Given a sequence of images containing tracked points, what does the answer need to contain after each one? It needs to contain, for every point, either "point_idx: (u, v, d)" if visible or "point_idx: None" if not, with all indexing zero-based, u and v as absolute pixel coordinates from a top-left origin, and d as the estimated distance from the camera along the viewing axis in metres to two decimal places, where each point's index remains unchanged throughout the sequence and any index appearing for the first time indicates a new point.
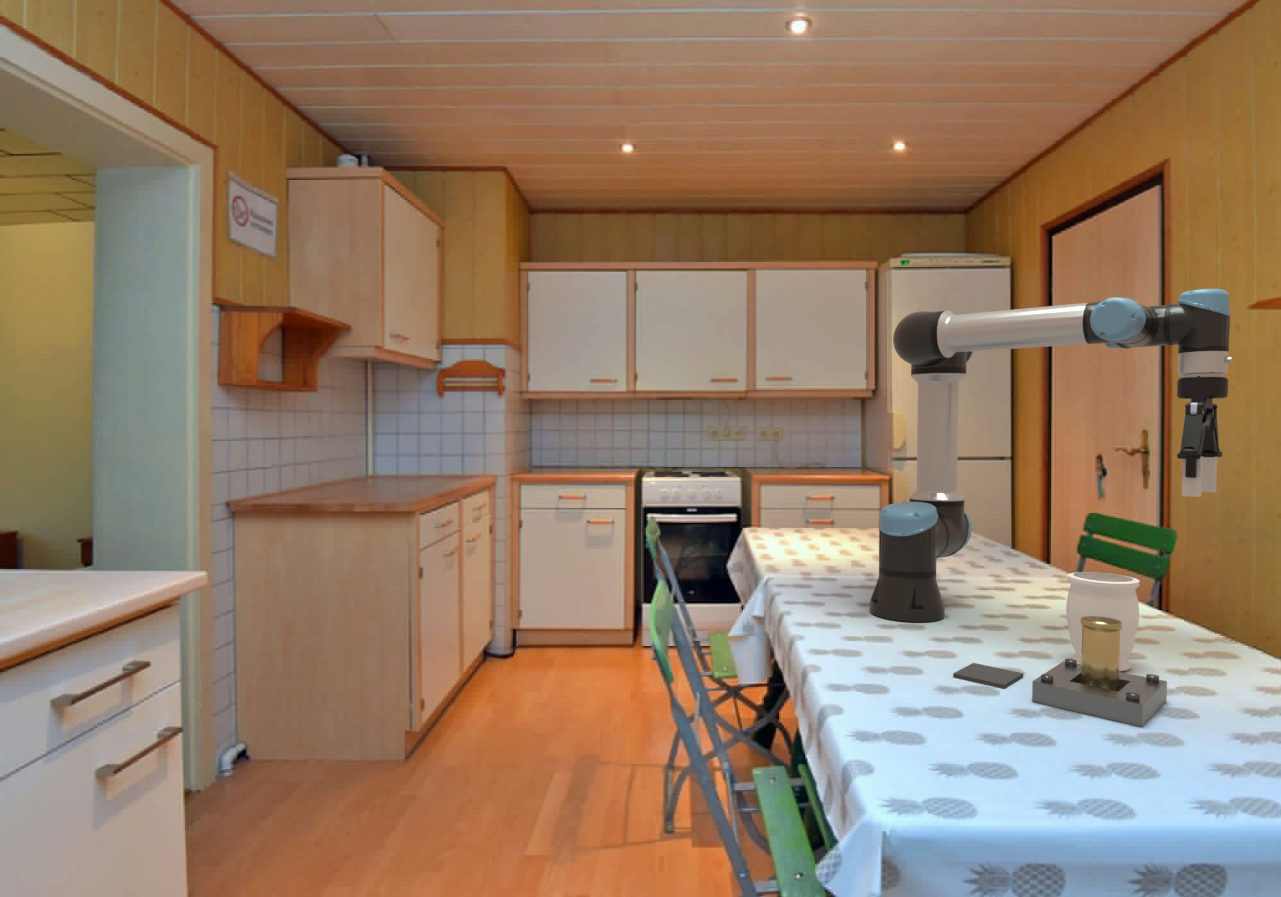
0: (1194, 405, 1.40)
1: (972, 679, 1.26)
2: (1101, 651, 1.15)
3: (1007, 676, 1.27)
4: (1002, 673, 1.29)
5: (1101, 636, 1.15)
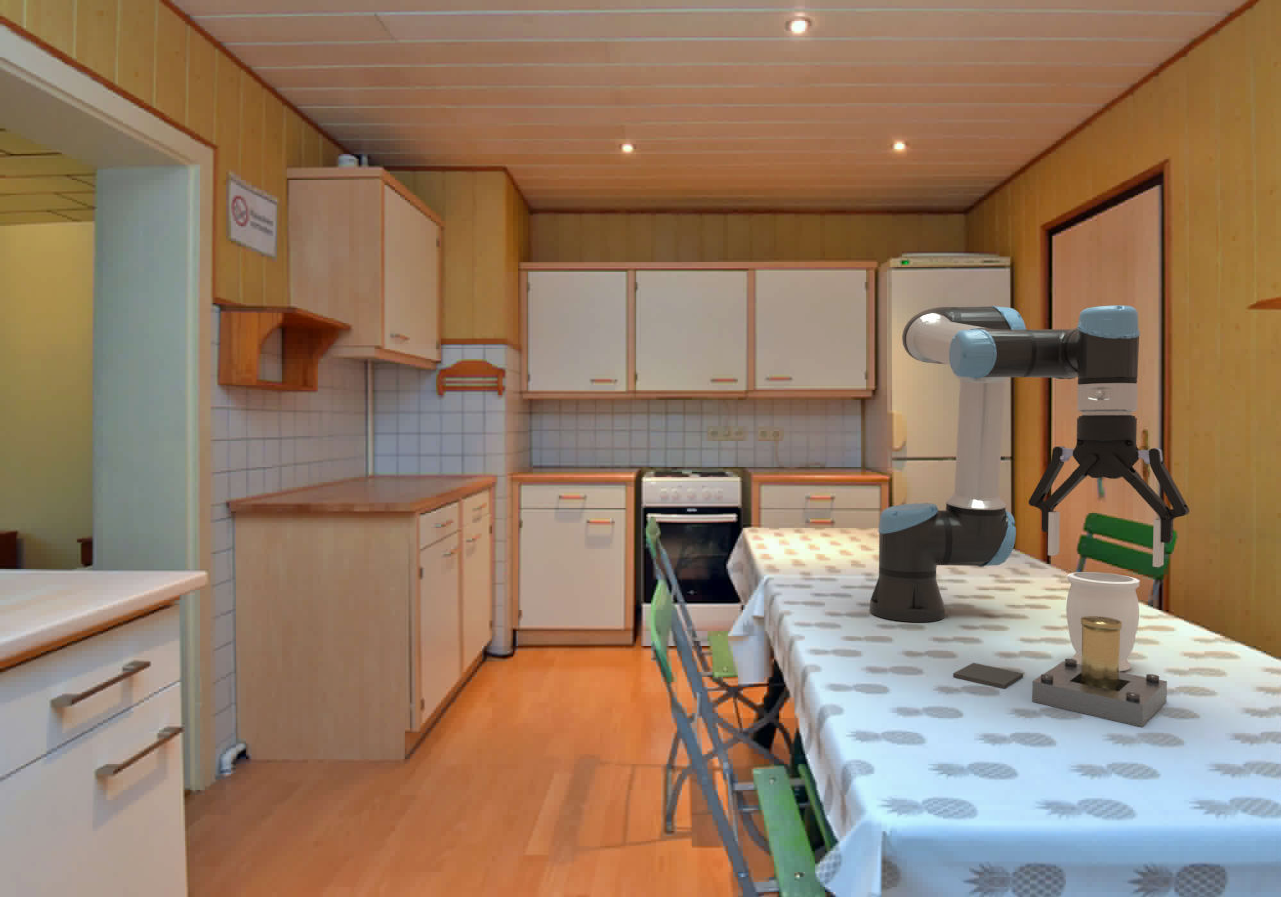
0: None
1: (972, 679, 1.26)
2: (1101, 651, 1.15)
3: (1007, 676, 1.27)
4: (1002, 673, 1.29)
5: (1101, 636, 1.15)
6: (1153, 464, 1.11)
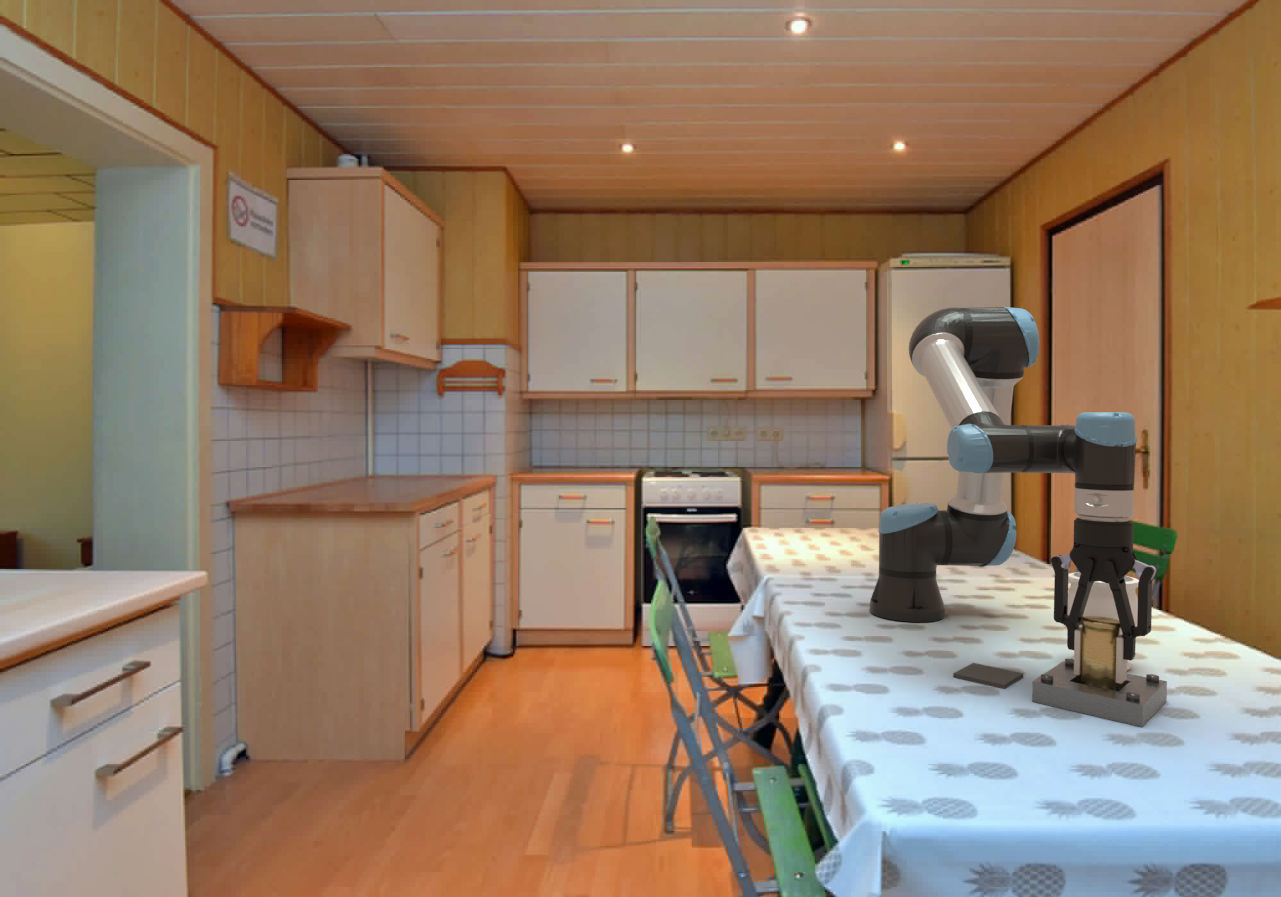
0: None
1: (972, 679, 1.26)
2: (1101, 651, 1.15)
3: (1007, 676, 1.27)
4: (1002, 673, 1.29)
5: (1101, 636, 1.15)
6: (1142, 581, 1.12)
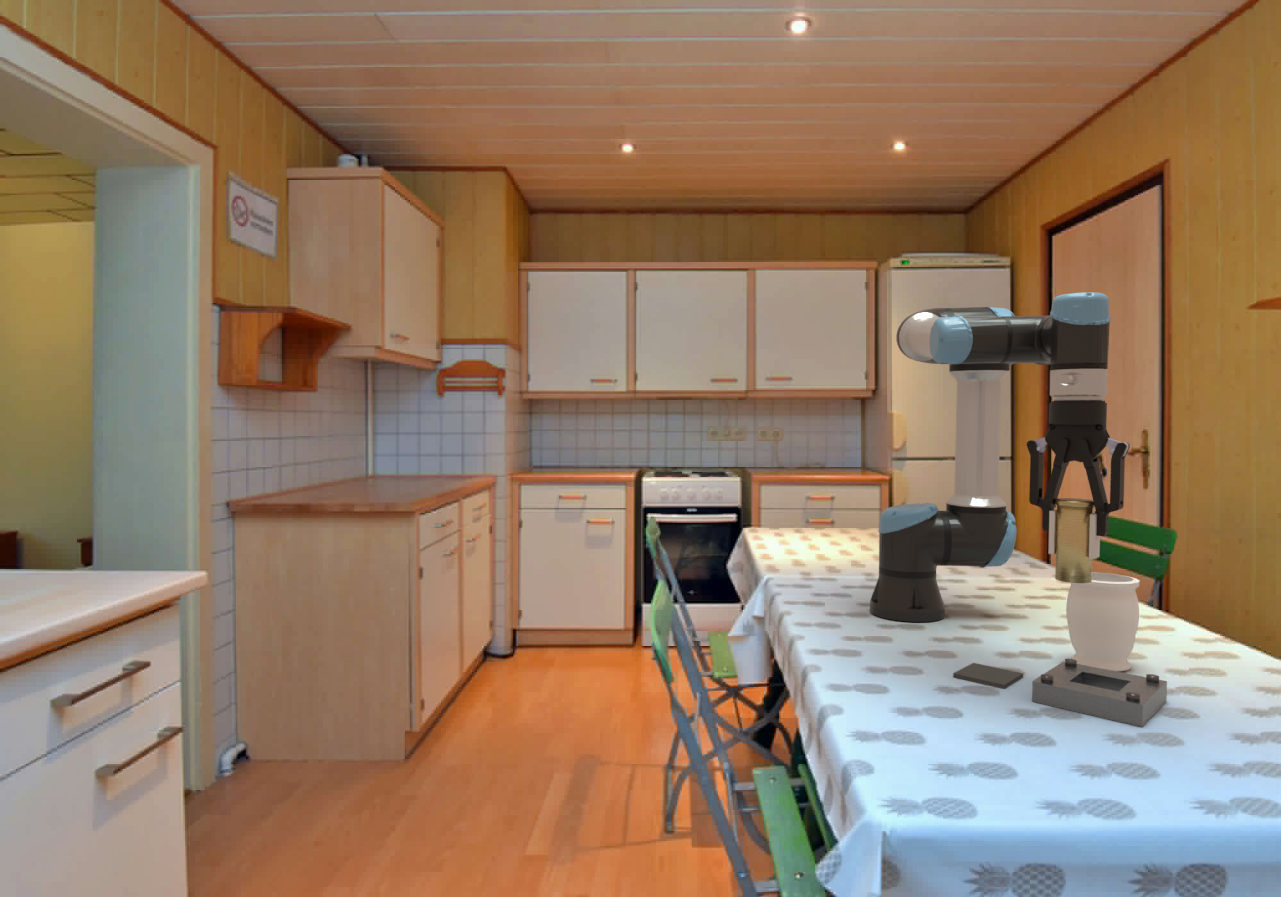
0: None
1: (972, 679, 1.26)
2: (1075, 528, 1.17)
3: (1007, 676, 1.27)
4: (1002, 673, 1.29)
5: (1075, 513, 1.17)
6: (1114, 456, 1.15)
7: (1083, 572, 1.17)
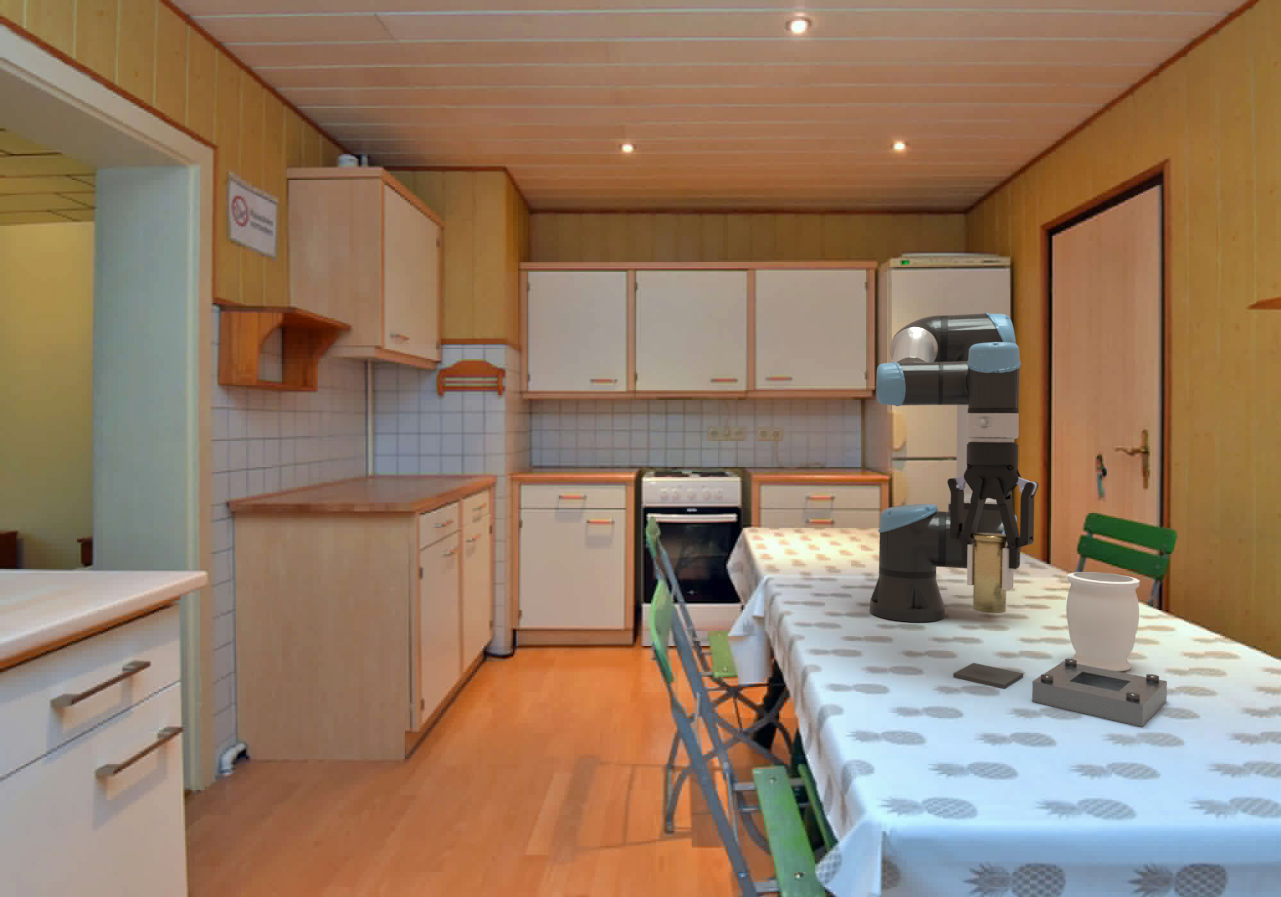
0: None
1: (972, 679, 1.26)
2: (989, 561, 1.26)
3: (1007, 676, 1.27)
4: (1002, 673, 1.29)
5: (989, 547, 1.26)
6: (1023, 495, 1.23)
7: (997, 602, 1.26)
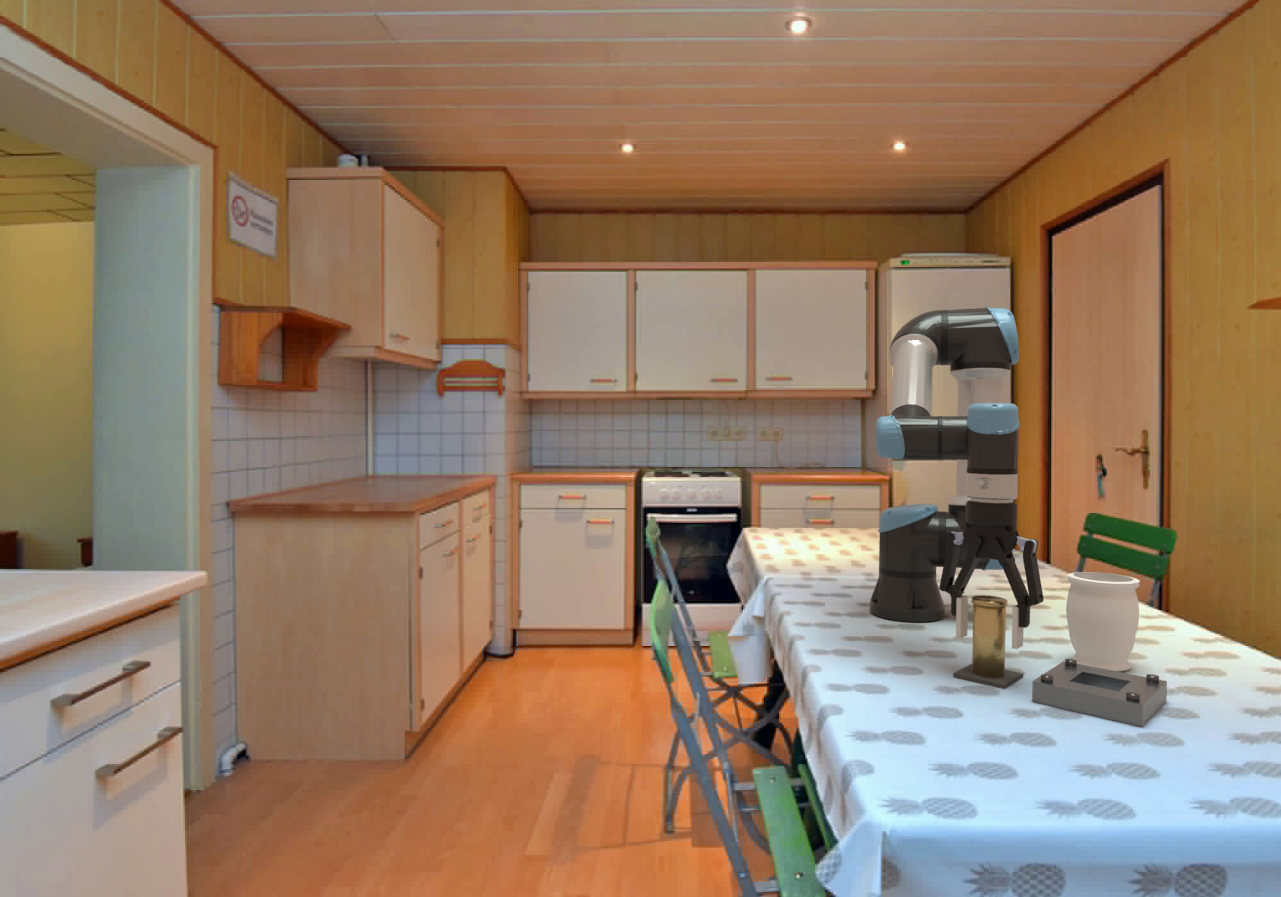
0: None
1: (972, 679, 1.26)
2: (988, 626, 1.26)
3: (1007, 676, 1.27)
4: None
5: (988, 613, 1.26)
6: (1025, 554, 1.23)
7: (996, 667, 1.26)
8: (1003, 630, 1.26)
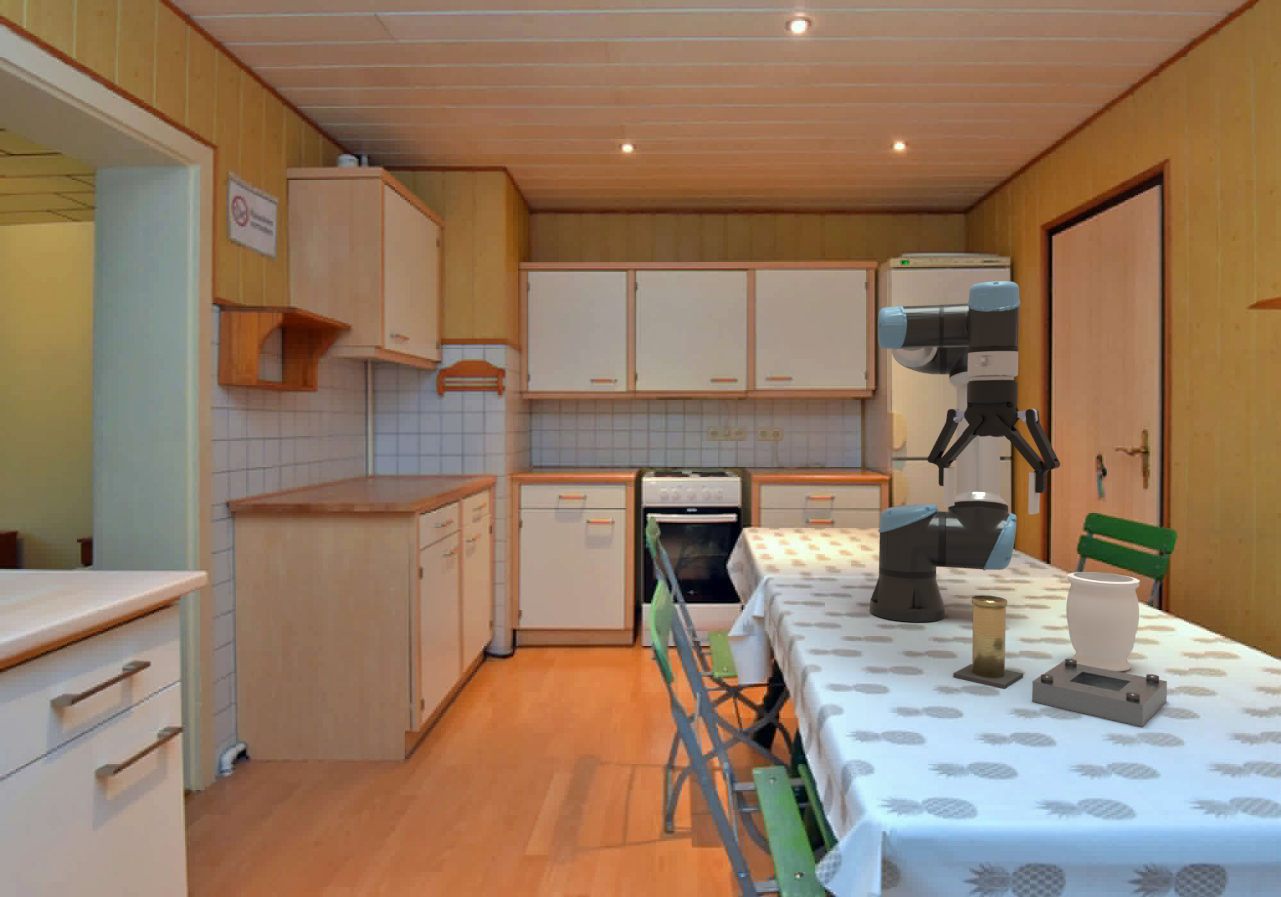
0: None
1: (972, 679, 1.26)
2: (988, 626, 1.26)
3: (1007, 676, 1.27)
4: None
5: (988, 613, 1.26)
6: (1029, 423, 1.25)
7: (996, 667, 1.26)
8: (1003, 630, 1.26)
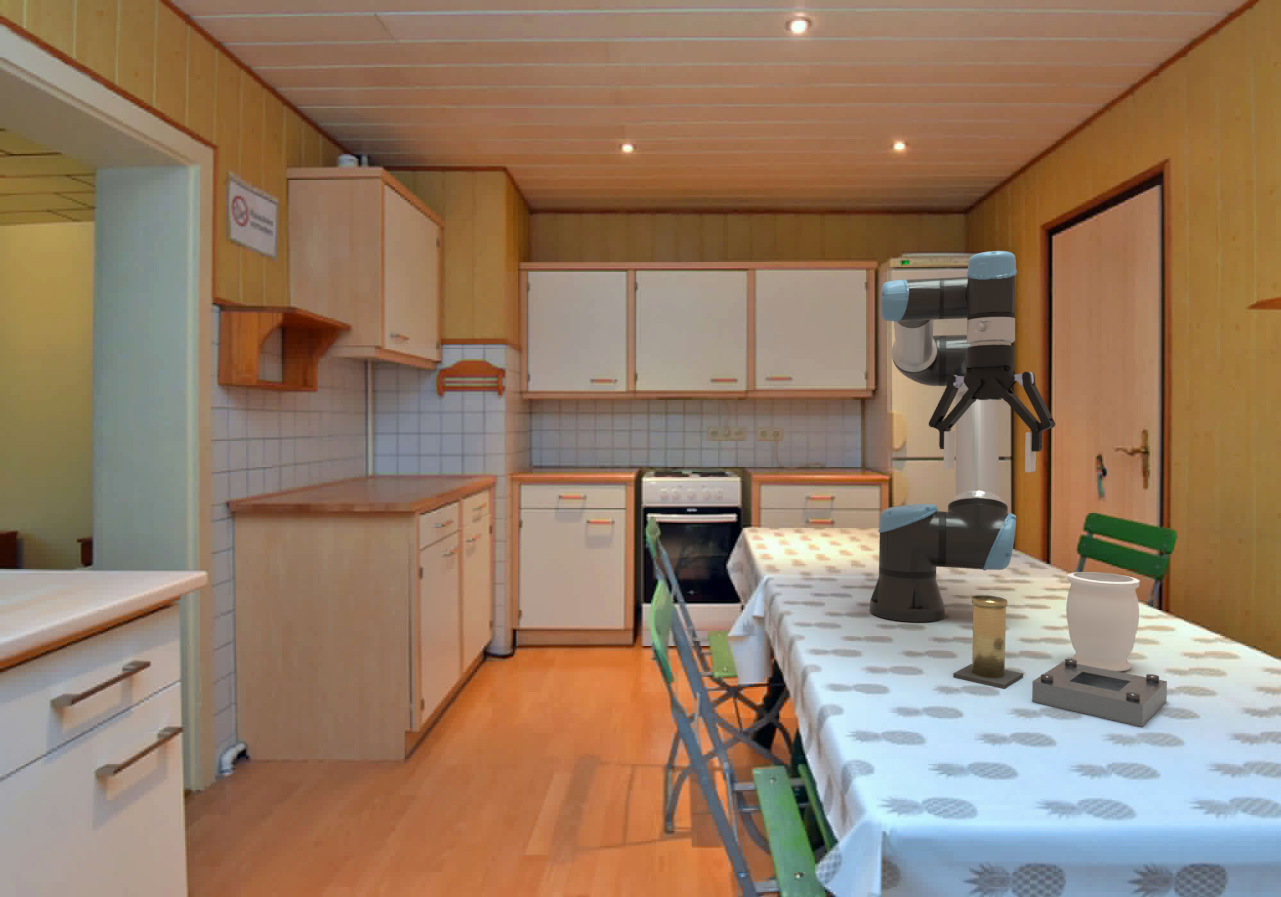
0: None
1: (972, 679, 1.26)
2: (988, 626, 1.26)
3: (1007, 676, 1.27)
4: None
5: (988, 613, 1.26)
6: (1025, 385, 1.31)
7: (996, 667, 1.26)
8: (1003, 630, 1.26)
